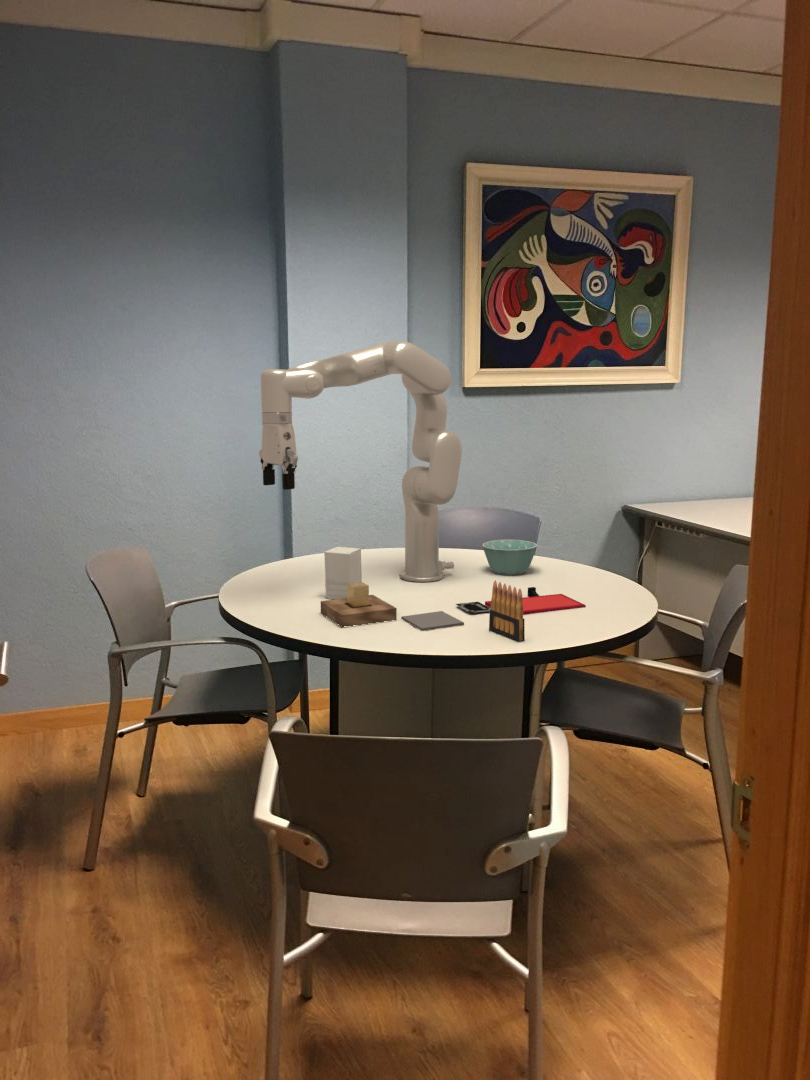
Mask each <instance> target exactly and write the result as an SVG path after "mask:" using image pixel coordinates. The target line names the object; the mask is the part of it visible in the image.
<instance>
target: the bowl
mask: <svg viewBox="0 0 810 1080" xmlns="http://www.w3.org/2000/svg"><path fill="white" fill-rule="evenodd" d="M481 546H482V549H483V552H484V555H485V557H486V561H487V563H488V566H489V568H490V570H491V571H493V572H494V573H495V574H497V575H503V576H504V575H505V576H517V575H522V574H524V573H526V571H528V570H529V569H530V566H531V564H532V562H533V559H534V556H535V553H536V550H537V547H538V545H537V543H535V542H534V541H533V542H532V541H529V540H522V539H497V540H496V539H494V540H490V541H489V540H488V541H486V542H483V543H482V545H481Z"/></svg>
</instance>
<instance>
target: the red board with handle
mask: <svg viewBox="0 0 810 1080" xmlns="http://www.w3.org/2000/svg"><path fill="white" fill-rule="evenodd" d="M522 601H523V616H526V615H533V614H534V615H535V614H541V613H542V614H543V613H550V612H557V611H565V610H574V609H575V610H576V609H580V608H581V609H582V608H586V606H587V605H586V604H585V603H582V602H580V601H578V600H577V599H574V598H571V597H569V596H567V595H565V594H563V593H556V594H555V593H554V594H547V595H540V594H538V593H537V587H535V586H531V587H527V596H526V597H522ZM455 605H456V606H458V607H460V608H461V609H463V611H465V612H467V613H469V614H474V613H485V612H490V609H491V600H488V601H487V600H486V601H484V604H483V603H481V602H480V601H471V602H459V603H455Z"/></svg>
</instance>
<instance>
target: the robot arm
mask: <svg viewBox="0 0 810 1080" xmlns="http://www.w3.org/2000/svg"><path fill="white" fill-rule="evenodd" d="M389 375H401V381H402V385H403V387H404V388H405V389H406V390H407V391H408V392H409V394H410V395H411V397H412V399H413V400H414V404H415V408H416V409H415V410H416V412H415V421H414V422H415V423H414V427H413V428H414V429H413V434H412V435H413V437H412V442H411V453H412V455H413V456H414V457H415V458H416V459H417V460H419V461H422V462H426V463H429V464H428V465H429V466H423V465H418V466H416V465H415V466H413V467H411V468H409V469H407V471H406V472H405V473H404V475H403V477H402V480H401V490H402V491H401V492H402V498H403V505H404V522H405V523H404V525H405V526H404V539H405V540H404V553H405V554H404V559H405V560H404V561H405V562H404V566H405V567H404V569H405V570H401V571H400V572H399V578H400V579H401V580H404V581H409V582H414V583H424V582H425V583H427V582H428V583H429V582H437V581H440V580H443V579H444V577H445V573H444V570H446V569H447V570H450V569H454V567H455V563H454V561H447V562H446V561H442V560H440V559H439V558H440V556H439V555H440V554H439V552H440V551H439V550H440V549H439V548H440V547H439V546H440V542H439V541H440V535H439V534H440V531H439V530H440V523H439V522H440V514H439V512H440V511H439V509H438V505H439V506H441V505H445V504H447V503H449V502H450V501H451V500H452V499H453V497H454V496H455V493H456V491H457V486H458V481H459V476H460V475H459V473H460V467H461V461H462V443H461V440H460V438H459V436H458V434H456V433H455V432H453V431H452V430H449V429H446V425H447V415H448V405H447V402H446V399H445V395H444V393H445V392H447V390H449V388H450V386H451V383H452V375H451V372H450V369H449V368H448V366H446V365H445V364H444V363H443V362H441V361H440V360H439V359H437V358H435V357H434V356H432V355H431V354H429V353H427V352H426V351H424V350H423V349H422V348H420V347H419V346H417V345H415V344H414V343H411V342H409V341H405V340H403V341H402V340H399V341H397V340H394V341H385V342H380V343H377V344H373V345H370V346H366V347H363V348H359V349H356V350H352V351H349V352H345V353H340V354H338V355H337V354H336V355H333V356H330V357H327V358H323V359H318V360H314V361H310V362H307V363H303V364H299V365H296V366H293V367H290V368H287V369H282V368H281V369H277V368H271V369H269V368H268V369H264V370H262V371H261V373H260V394H261V396H260V397H261V398H260V401H261V426H262V430H261V431H262V433H261V450H259V451H258V454H259V455H258V456H259V457H260V463H261V470H262V484H263V486H273V485H275V484H276V470H275V468H274V466H281V469H282V472H283V473H282V474H281V476H282V490H284V491H286V490H294V489H295V487H296V484H295V482H296V481H295V480H296V479H295V474H296V469H297V467H298V466H297V464H298V460H299V457H298V456H297V446H296V445H297V444H296V436H295V430H294V429H295V428H294V425H293V404H292V401H293V400H292V398H299V399H308V400H309V399H314V398H316V397H318V396H319V395H321V393H322V392H323V391H324V389H328V388H336V387H340V388H341V387H351V386H355V385H361V384H363V383H366V382H370V381H373V380H376V379H380V378H383V377H386V376H389Z"/></svg>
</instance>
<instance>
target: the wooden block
mask: <svg viewBox="0 0 810 1080" xmlns="http://www.w3.org/2000/svg"><path fill="white" fill-rule="evenodd" d="M369 589H370V587H369V585H368V584H367V583H364V582H363V581H362V582H358V583H349V584H347V606H349V607H350V608H352V609H353V608H361V607H368V606H369V595H370V590H369Z"/></svg>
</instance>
